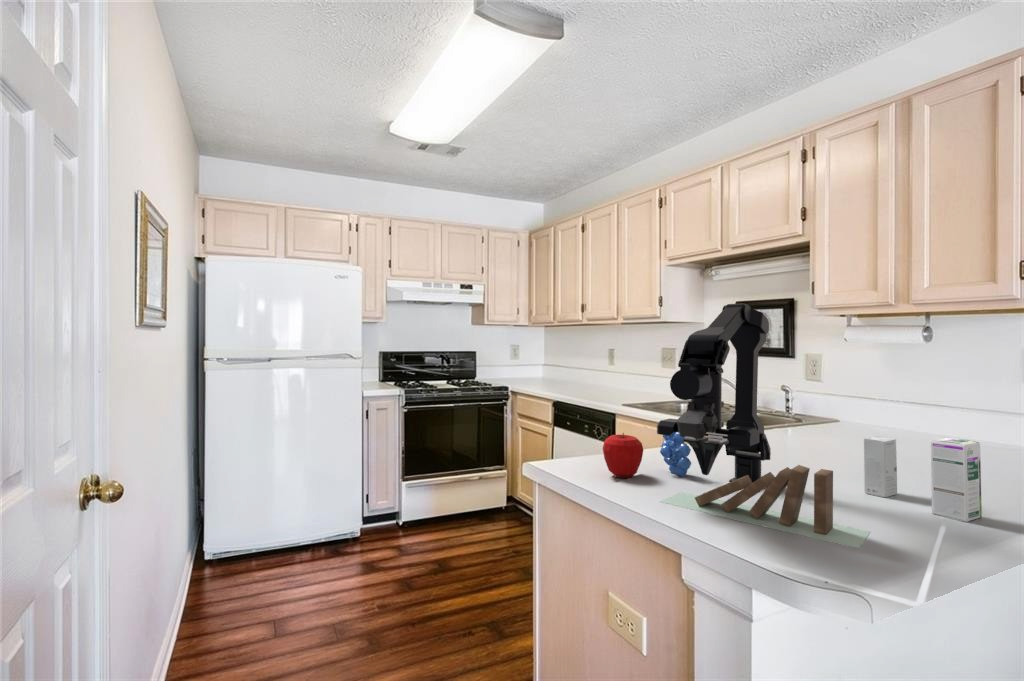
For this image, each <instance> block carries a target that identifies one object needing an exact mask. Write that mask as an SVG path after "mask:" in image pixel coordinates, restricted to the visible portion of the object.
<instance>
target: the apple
mask: <svg viewBox="0 0 1024 681" xmlns="http://www.w3.org/2000/svg"><path fill="white" fill-rule="evenodd" d="M602 452H603V458H604V461H605V463H606V467H607V469H608V471H609V472H610V473H611V474H612V475H613V476H614V477H616V478H623V479H624V478H625V479H630V478H633V476H634V475H636V474H637V472H638V471H639V468H640V465H641V464H642V460H643V456H644V447H643V443H642V442H641V441H640V440H639V439H638V438H637V437H636V436H633V435H629V434H625V433H624V432H622V434H612V435H610V436H608V437H607V438H605V440H604V442H603V446H602Z"/></svg>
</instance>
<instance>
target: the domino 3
mask: <svg viewBox="0 0 1024 681" xmlns="http://www.w3.org/2000/svg"><path fill="white" fill-rule="evenodd" d="M791 469H792V468H790V467H785V468H783V469H781V470H780V471H778V473H777V474H776V476H774V477H775V478H774V480H773V481H772V482H771V483H770V485H769V486H768V487H766V488H765V489H764V491H763V493H762V494H761V495H760V497H758V499H757V500H756V502H755V503H754V504H753V506H751V507H752V508H751V510H750V511H749V512H748V513H749V514H751V515H752V516H753V517H754V518H755V519H759V518H760V517H761V516H763V515H764V514H766V512H767V511H768V510H770V509H771V507H772V506H773V505H774V504H775V502H776V501H777V499H778V498H779V497H780V496H781V494H782V493H783V492H784V491H785V490H786V489H787V485H788V481H789V477H790V472H791Z"/></svg>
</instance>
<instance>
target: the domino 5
mask: <svg viewBox="0 0 1024 681" xmlns="http://www.w3.org/2000/svg"><path fill="white" fill-rule="evenodd" d="M813 477H814V478H813V492H814V493H813V501H814V502H813V520H814V533H818V534H822V535H827V534H828V533H829V532H830V531H831V530H832V529H833V524H834V470H831V469H824V468H820V469H819V470H818V471H816V472H815V473H814V474H813Z"/></svg>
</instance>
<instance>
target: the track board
mask: <svg viewBox="0 0 1024 681" xmlns="http://www.w3.org/2000/svg"><path fill="white" fill-rule="evenodd" d="M699 495H700V494H693V493H689V492H684V491H680V492H678V493H675V494H674V495H671V496H669V497H666V498H665V499H662V500H660V501H659V503H663V504H665V505H671V506H675V507H679V508H684V509H687V510H688V509H689V510H692V511H696V512H700V513H705V514H710V515H714V516H718V517H723V518H727V519H732V520H735V521H740V522H745V523H747V524H752V525H755V526H756V525H757V526H761V527H765V528H769V529H774V530H778V531H783V532H785V533H790V534H795V535H800V536H804V537H808V538H813V539H817V540H820V541H821V540H822V541H825V542H830V543H834V544H839V545H842V546H846V547H851V548H855V549H860V547H861V546H862V545H863V543H864V542H865V540H866V539H867V537H868V536H870V535H869V534H870V533H871V531H869V530H863V529H860V528H856V527H855V528H854V527H850V526H844V525H840V524H835V523H833V529H832V530H831V531H830V532H829V533H828V534H827V535H822V534H818V533H814V518H813V519H812V518H807V517H803V516H799V517H798V521H796V522H795V523H794V524H793V525H792V526H791V527H788V526H786V525H783V524H781V523H779V520H780V516H781V512H780V511H775V510H770V509H769V510H768V511H767V512H766V514H764V515H763V516H761V517H760V518H759V519H755V518H754V517H753V516H752V515H751V514H749V513H748V512H749V511H750V510H751V508H752V507H753V506H751V505H748V504H747V505H746V504H743V503H742V504H741V505H739V506H738V507H736V508H735V509H733V510H731V511H730V512H728V513H727V512H726V511H725V509H724V508H723V507H722V505H721V504H722V503H724V502H725V501H726V500H723V499H717V500H714V501H712V502H709V503H707V504H704V505H702V506H698V504H697V502H696V500H695V497H697V496H699Z"/></svg>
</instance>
